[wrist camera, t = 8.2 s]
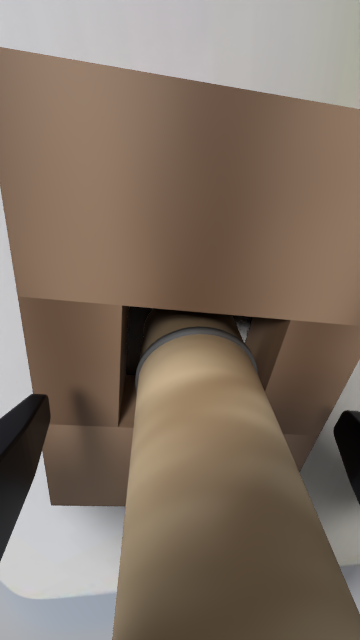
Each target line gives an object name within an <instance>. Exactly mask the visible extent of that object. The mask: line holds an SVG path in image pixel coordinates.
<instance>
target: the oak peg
mask: <svg viewBox="0 0 360 640" xmlns="http://www.w3.org/2000/svg"><path fill="white" fill-rule="evenodd" d="M135 386H136V391H137V398H136V408H135V418H134V428H133V438H132V448H131V458H130V468H129V478H128V488H127V498H126V508H125V518H124V528H123V537H122V547H121V557H120V567H119V577H118V587H117V598H116V607H115V617H114V627H113V637H112V640H360V614H359V611H358V609H357V607H356V604H355V602H354V600H353V597H352V595H351V593H350V590H349V588H348V586H347V583H346V581H345V579H344V576H343V574H342V572H341V569H340V567H339V564H338V562H337V560H336V557H335V555H334V553H333V550H332V548H331V546H330V543H329V541H328V539H327V536H326V534H325V532H324V529H323V527H322V525H321V522H320V520H319V518H318V515H317V513H316V511H315V508H314V506H313V504H312V501H311V499H310V496H309V494H308V492H307V489H306V487H305V485H304V482H303V480H302V478H301V475H300V473H299V471H298V468H297V466H296V464H295V461H294V459H293V457H292V454H291V452H290V450H289V447H288V445H287V443H286V440H285V438H284V436H283V433H282V431H281V428H280V426H279V424H278V421H277V419H276V417H275V414H274V412H273V410H272V407H271V405H270V403H269V400H268V398H267V396H266V393H265V391H264V389H263V386H262V384H261V382H260V379H259V377H258V370H257V365H256V362H255V360H254V358H253V355H252V353H251V351H250V350H249V348H248V347H247V346H246V345H245V343H244V342H243V339H242V337H241V335H240V332H239V330H238V328H237V325H236V323H235V321H234V318H233V316H232V315H227V314H215V313H204V312H192V311H180V310H169V309H157V308H153V309H152V310H151V312H150V313H149V314H148V316H147V318H146V321H145V324H144V329H143V338H142V348H141V358H140V360H139V363H138V366H137V371H136V378H135Z"/></svg>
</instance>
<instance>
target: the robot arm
mask: <svg viewBox="0 0 360 640" xmlns="http://www.w3.org/2000/svg"><path fill="white" fill-rule="evenodd" d="M50 419H51V413H50V405H49V398H48V396H47V395H46V394H31V395H30V396H28V397H27V398H26V399H25V400H23V401H22V402H21V403H19V404H18V405H17V406H16V407H14V408H13V409H12V410H11V411H9V412H8V413H7V414H5V415H4V416H3V417H2V418H0V561H1V558H2V556H3V554H4V551H5V549H6V546H7V544H8V541H9V539H10V536H11V534H12V531H13V529H14V526H15V524H16V521H17V519H18V516H19V514H20V511H21V509H22V507H23V504H24V502H25V499H26V497H27V494H28V492H29V489H30V487H31V484H32V481H33V479H34V476H35V473H36V470H37V466H38V463H39V459H40V456H41V452H42V449H43V445H44V442H45V438H46V434H47V431H48V427H49V424H50ZM334 437H335V440H336V443H337V446H338V449H339V452H340V455H341V458H342V461H343V463H344V466H345V469H346V472H347V475H348V478H349V481H350V483H351V486H352V488H353V491H354V493H355V495H356V498H357V500H358V502H359V504H360V412H358V411H349V410H346V411H344V412H343V413H342V414H341V416H340V418H339V420H338V421H337V423H336V425H335V427H334Z"/></svg>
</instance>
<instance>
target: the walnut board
mask: <svg viewBox="0 0 360 640" xmlns="http://www.w3.org/2000/svg"><path fill="white" fill-rule="evenodd" d="M0 188H1V194H2V200H3V206H4V213H5V219H6V225H7V232H8V238H9V244H10V250H11V257H12V263H13V269H14V275H15V282H16V288H17V294H18V301H19V307H20V313H21V319H22V326H23V332H24V338H25V345H26V351H27V357H28V363H29V370H30V376H31V382H32V389H33V394H46V395H47V396H48V398H49V405H50V413H51V419H50V424H49V427H48V431H47V434H46V438H45V442H44V445H43V449H42V451H43V458H44V464H45V470H46V477H47V483H48V489H49V495H50V502H51V505H62V506H126V498H127V488H128V478H129V468H130V458H131V448H132V438H133V428H134V418H135V408H136V398H137V391H136V386H135V378H136V376H135V375H126V368H127V347H128V325H129V306H134V307H146V308H157V309H169V310H180V311H192V312H204V313H215V314H227V315H239V316H250V317H252V321H251V325H250V328H249V332H248V335H247V339H246V342H245V345H246V346H247V347H248V348H249V350H250V351H251V353H252V355H253V358H254V360H255V362H256V365H257V370H258V377H259V379H260V382H261V384H262V386H263V389H264V391H265V393H266V396H267V398H268V400H269V403H270V405H271V407H272V410H273V412H274V414H275V417H276V419H277V421H278V424H279V426H280V428H281V431H282V433H283V436H284V438H285V440H286V443H287V445H288V447H289V450H290V452H291V454H292V457H293V459H294V461H295V464H296V466H297V468H298V471H299V472H300V470H301V468H302V466H303V465H304V463H305V461H306V459H307V457H308V455H309V453H310V451H311V449H312V448H313V446H314V444H315V442H316V440H317V438H318V436H319V434H320V432H321V431H322V429H323V427H324V425H325V423H326V421H327V419H328V417H329V416H330V414H331V412H332V410H333V408H334V406H335V404H336V402H337V400H338V399H339V397H340V395H341V393H342V391H343V389H344V387H345V385H346V383H347V382H348V380H349V378H350V376H351V374H352V372H353V370H354V368H355V366H356V365H357V363H358V361H359V359H360V109H355V108H349V107H343V106H338V105H332V104H326V103H320V102H314V101H309V100H303V99H297V98H291V97H286V96H280V95H274V94H268V93H262V92H257V91H251V90H245V89H239V88H234V87H228V86H222V85H216V84H210V83H205V82H199V81H193V80H187V79H181V78H176V77H170V76H164V75H158V74H153V73H147V72H141V71H135V70H129V69H124V68H118V67H112V66H106V65H100V64H95V63H89V62H83V61H77V60H72V59H66V58H60V57H54V56H48V55H43V54H37V53H31V52H25V51H20V50H14V49H8V48H2V47H0Z"/></svg>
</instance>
